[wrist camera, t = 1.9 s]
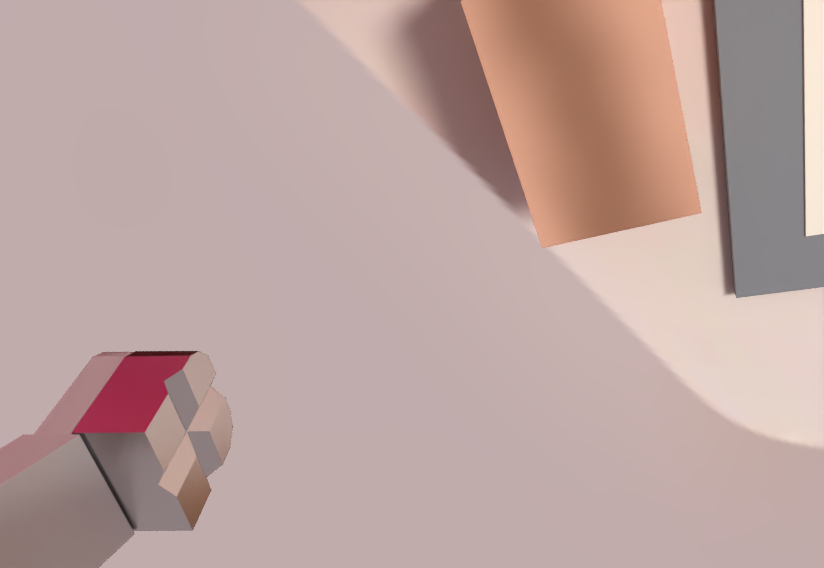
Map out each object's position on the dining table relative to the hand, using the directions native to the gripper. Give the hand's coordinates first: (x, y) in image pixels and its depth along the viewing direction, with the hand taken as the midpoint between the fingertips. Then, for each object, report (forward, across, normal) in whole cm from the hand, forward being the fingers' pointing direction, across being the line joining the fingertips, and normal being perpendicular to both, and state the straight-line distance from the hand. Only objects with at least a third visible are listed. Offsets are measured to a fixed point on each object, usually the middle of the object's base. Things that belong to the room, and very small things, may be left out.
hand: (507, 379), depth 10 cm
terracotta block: (+24, -2, +4) cm, 24 cm away
